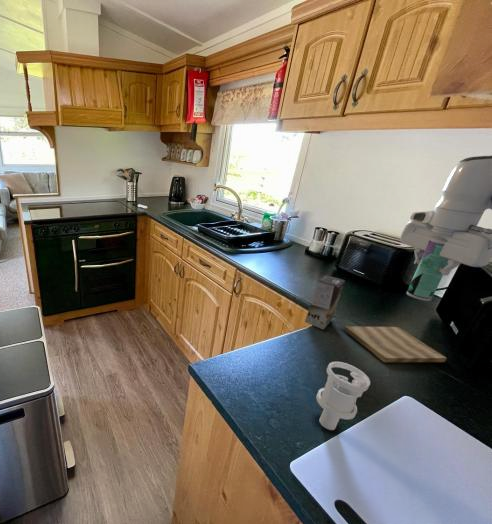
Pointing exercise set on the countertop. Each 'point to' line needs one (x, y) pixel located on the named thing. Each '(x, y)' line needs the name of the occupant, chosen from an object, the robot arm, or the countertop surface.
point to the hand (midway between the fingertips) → (429, 269)
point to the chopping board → (394, 344)
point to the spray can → (428, 270)
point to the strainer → (340, 395)
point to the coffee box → (324, 301)
